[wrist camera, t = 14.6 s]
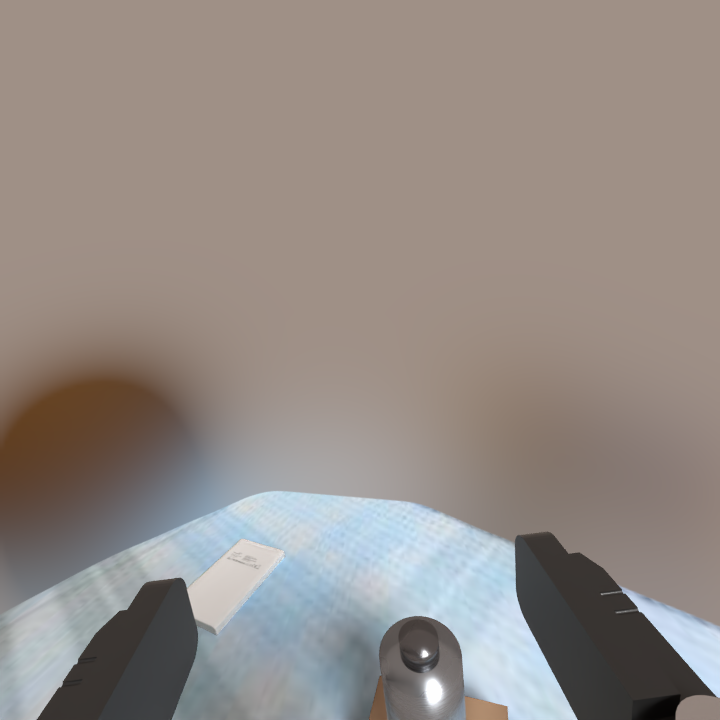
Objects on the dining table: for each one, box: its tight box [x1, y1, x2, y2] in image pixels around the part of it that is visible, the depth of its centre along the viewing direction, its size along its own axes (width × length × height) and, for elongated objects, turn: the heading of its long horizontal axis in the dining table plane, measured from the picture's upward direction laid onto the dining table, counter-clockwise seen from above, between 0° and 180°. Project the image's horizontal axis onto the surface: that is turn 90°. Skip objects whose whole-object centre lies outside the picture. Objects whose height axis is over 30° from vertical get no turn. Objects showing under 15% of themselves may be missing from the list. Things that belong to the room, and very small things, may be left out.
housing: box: [379, 616, 466, 720], centre depth 24 cm, size 6×6×11 cm
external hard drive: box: [187, 539, 285, 635], centre depth 49 cm, size 2×8×12 cm
